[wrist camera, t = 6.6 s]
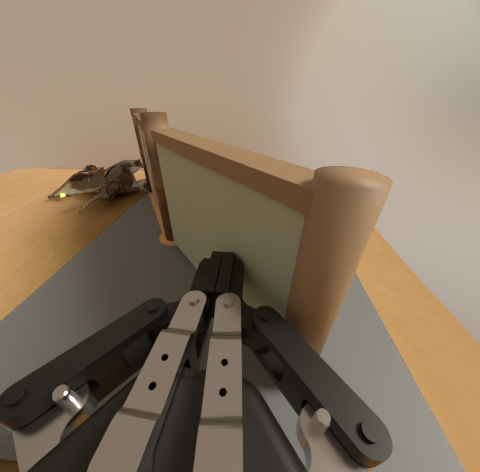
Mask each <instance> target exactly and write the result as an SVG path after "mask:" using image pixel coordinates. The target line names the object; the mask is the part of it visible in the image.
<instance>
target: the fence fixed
mask: <svg viewBox="0 0 480 472" xmlns="http://www.w3.org/2000/svg"><path fill="white" fill-rule="evenodd" d="M130 111H131V115H132V119H133V123H134V128H135V132H136V137H137V141H138V145H139V149H140V154H141V158H142V163H143V167H144V171H145V176H146V180H147V184H148V187H149V192H152V193H153V195H154V198H155V200H156V203H157V205H158V208H159V210H160V213H161V218H162V222H163V227H164V232H165V237H166V239H167V240H168V241H174V238H173V232H172V227H171V222H170V216H169V211H168V206H167V200H166V195H165V190H164V185H163V179H162V174H161V169H160V163H159V158H158V153H157V147H156V143H154V142H153V141H152V136H151V130H154V129H169V128H168V121H167V114H166V113H165V112H147V109H143V108H134V109H130Z"/></svg>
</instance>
